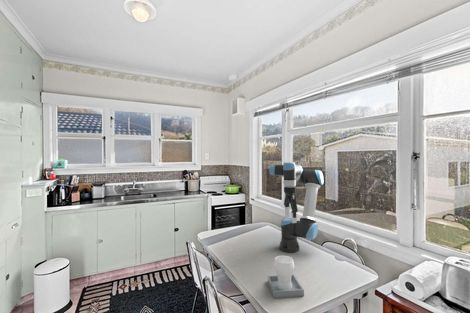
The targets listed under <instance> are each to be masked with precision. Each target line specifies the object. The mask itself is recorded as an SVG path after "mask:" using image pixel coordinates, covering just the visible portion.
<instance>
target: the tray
mask: <svg viewBox="0 0 470 313" xmlns="http://www.w3.org/2000/svg"><path fill="white" fill-rule="evenodd" d="M291 283H292V289H291V290H280V289H279V288H278V275H277V274H276V275H267V284H268V286H269V288H270V291H271V293H272V296H273V298H274V299H281V298H291V297H304V296H305V290H304V288H303V286H302V285H301V283H300V282H299V279H297V276H296V275H295V274H294V273H293V275H292V277H291Z"/></svg>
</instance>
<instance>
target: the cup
mask: <svg viewBox="0 0 470 313" xmlns="http://www.w3.org/2000/svg"><path fill="white" fill-rule="evenodd" d="M273 264H274V265H273V266H274V271H275V273H276V275H278V288H279V289H280V290H291V289H292V283H291V277H292V275H293V274H294V272H295V262H294V259H293V257H292V256H288V255H278V256H275V258H274V262H273Z"/></svg>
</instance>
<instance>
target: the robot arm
mask: <svg viewBox="0 0 470 313" xmlns="http://www.w3.org/2000/svg"><path fill="white" fill-rule="evenodd" d="M268 170H269V171H268V172H269V175H271V176H276V177H282V178H283V181H282V183H283V193H284V200H283V206H284V215H285V216H284V217H285V218H282V219H281V220H280V222H281V223H280V229H281V233H280V234H281V239H280V241H279V249H280V251H282V252H285V253H297V252H299V251H300V247H301V246H300V243H299V241H298V238H301V239H306V240H315V239H316V237H317V236H318V234H319V232H318V231H319V224H318V223H317V220H316V219H315V216H316V207H317V200H318V193H319V191H318V190H319V189H320V188H321V186H323V185H324V182H325V181H324V174H323V172H322V171H321V170H319V169H303V167H302V165H300V164H296V163H295V162H293V161H291V162H290V161H289V162H283V164H271V165H270V166H269V168H268ZM297 184H301V185H302V184H303V185H304V186H305V187H306V190H305V195H304V205H303V210H302V216H301V217H300V218H299V220H297V213H298V212H299V210H298V204H297V201H296V200H297V199H296V195H294V194H296V193H297V187H296V186H297ZM290 207H291V208H290ZM290 209H291V211H290ZM290 212H291V215H290ZM290 216H291V217H290Z"/></svg>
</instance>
